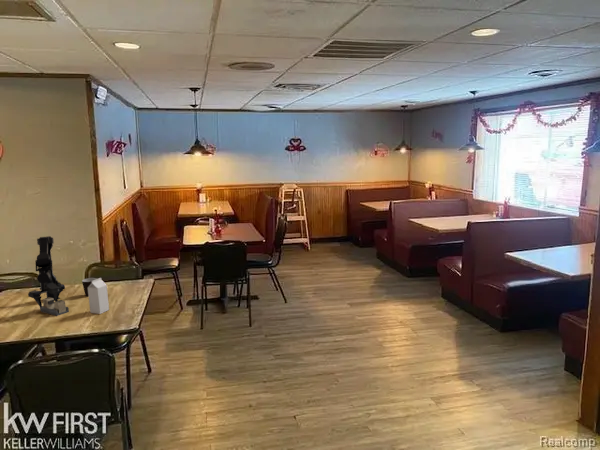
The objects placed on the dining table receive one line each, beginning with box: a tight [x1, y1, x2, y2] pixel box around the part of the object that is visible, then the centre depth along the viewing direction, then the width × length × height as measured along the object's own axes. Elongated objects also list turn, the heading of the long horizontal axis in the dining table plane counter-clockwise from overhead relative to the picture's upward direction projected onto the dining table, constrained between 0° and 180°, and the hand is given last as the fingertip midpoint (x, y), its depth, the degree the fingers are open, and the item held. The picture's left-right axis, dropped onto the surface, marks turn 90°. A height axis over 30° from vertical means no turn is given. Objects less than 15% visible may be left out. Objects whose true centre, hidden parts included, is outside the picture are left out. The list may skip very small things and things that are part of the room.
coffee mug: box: [81, 277, 97, 298], centre depth 294 cm, size 12×9×10 cm
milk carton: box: [88, 277, 110, 315], centre depth 260 cm, size 7×7×19 cm
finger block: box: [42, 297, 55, 309], centre depth 265 cm, size 5×4×6 cm
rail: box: [39, 299, 70, 317], centre depth 263 cm, size 16×7×7 cm, turn 60°
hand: (48, 304), depth 266 cm, fingers open, 9 cm apart
